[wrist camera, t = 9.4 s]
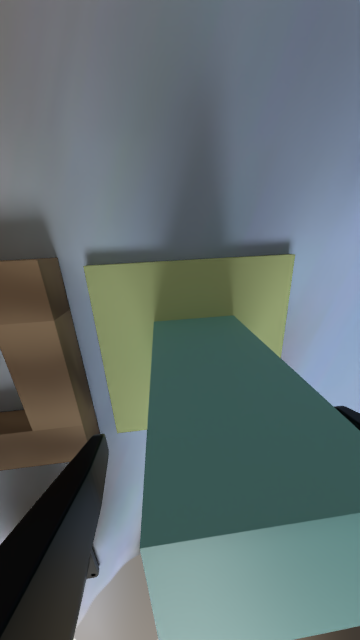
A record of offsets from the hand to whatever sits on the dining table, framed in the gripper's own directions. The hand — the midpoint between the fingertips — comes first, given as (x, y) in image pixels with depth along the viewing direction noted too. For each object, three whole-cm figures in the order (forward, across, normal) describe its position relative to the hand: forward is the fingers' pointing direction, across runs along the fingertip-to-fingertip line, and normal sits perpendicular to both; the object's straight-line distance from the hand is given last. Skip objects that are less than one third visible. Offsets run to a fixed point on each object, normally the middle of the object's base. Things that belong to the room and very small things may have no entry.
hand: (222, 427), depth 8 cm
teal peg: (+6, 0, 0) cm, 6 cm away
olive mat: (+6, 0, 0) cm, 7 cm away
